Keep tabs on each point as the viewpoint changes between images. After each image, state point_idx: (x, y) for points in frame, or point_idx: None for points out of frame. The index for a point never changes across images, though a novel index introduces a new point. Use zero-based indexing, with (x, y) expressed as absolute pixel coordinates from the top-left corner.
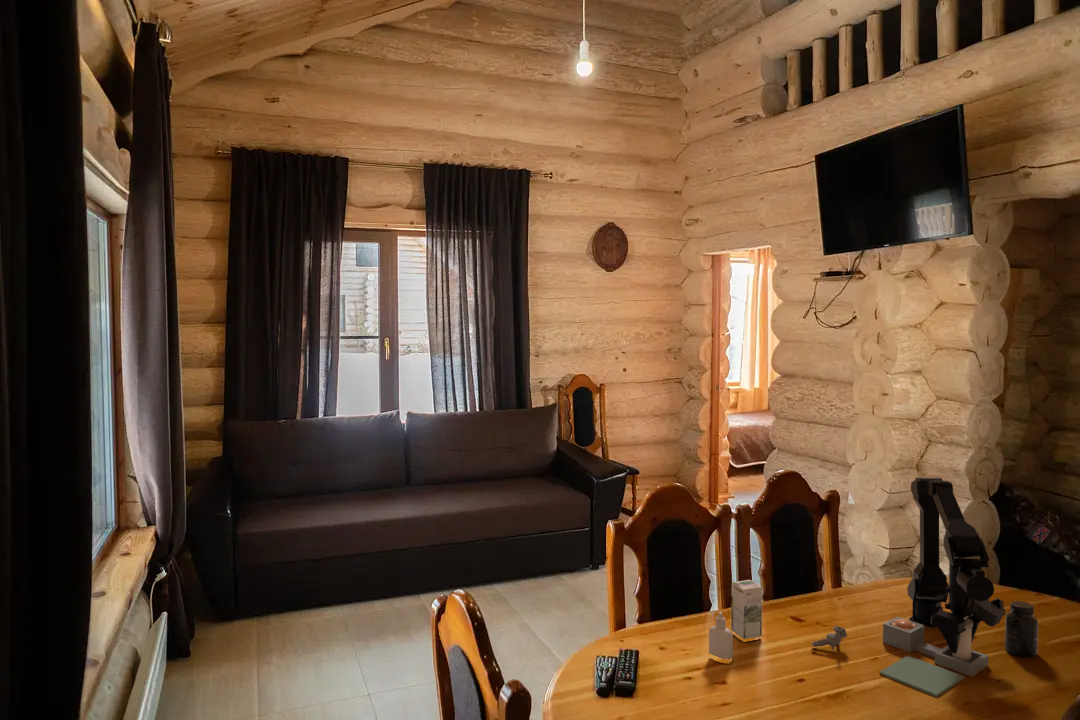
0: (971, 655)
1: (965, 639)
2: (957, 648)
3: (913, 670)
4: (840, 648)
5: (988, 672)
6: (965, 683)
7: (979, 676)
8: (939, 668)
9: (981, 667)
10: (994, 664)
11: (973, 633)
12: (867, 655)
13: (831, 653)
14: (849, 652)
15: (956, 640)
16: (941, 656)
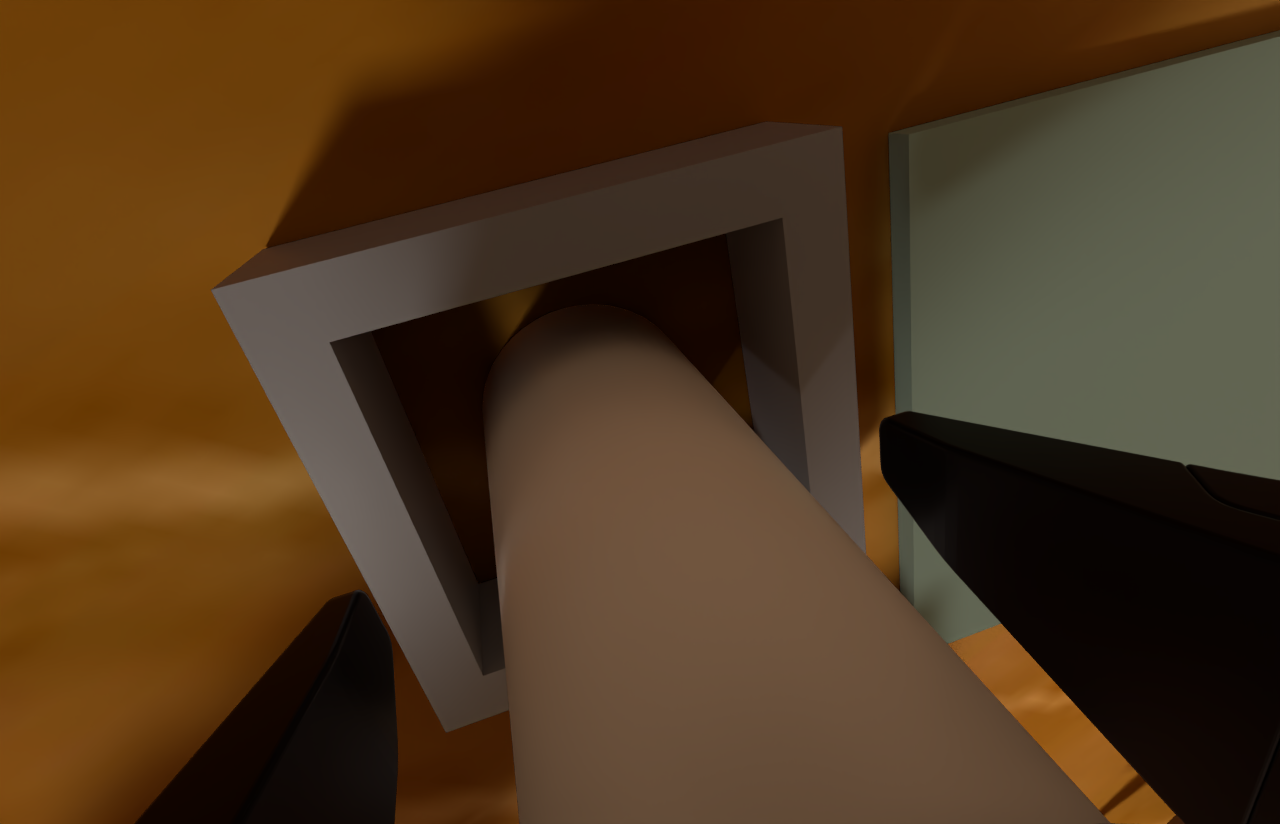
0: (401, 456)
1: (841, 540)
2: (945, 440)
3: (1144, 439)
4: (1098, 806)
5: (440, 100)
6: (982, 38)
7: (668, 79)
8: (939, 388)
9: (490, 196)
10: (109, 242)
11: (276, 763)
12: (1076, 716)
13: None
14: (1112, 762)
15: (1265, 483)
16: (856, 511)
